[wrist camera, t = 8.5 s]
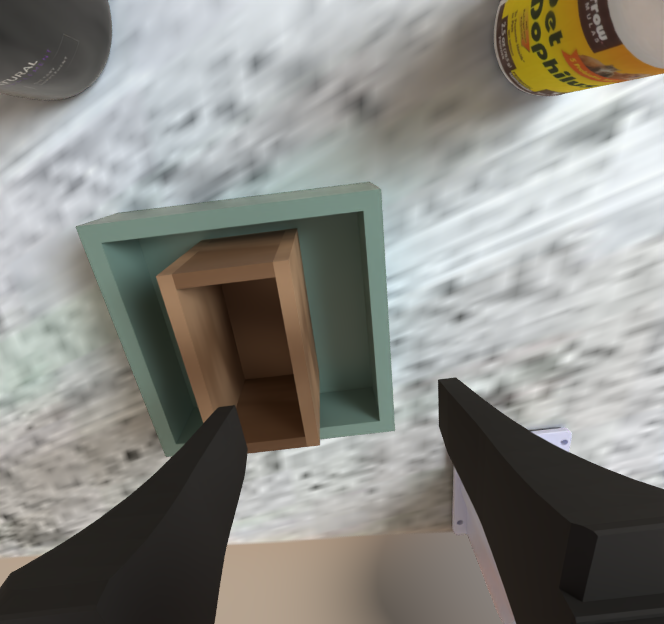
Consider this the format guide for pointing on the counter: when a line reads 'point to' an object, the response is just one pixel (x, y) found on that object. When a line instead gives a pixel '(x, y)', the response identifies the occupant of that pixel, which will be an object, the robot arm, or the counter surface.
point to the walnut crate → (248, 335)
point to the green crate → (321, 283)
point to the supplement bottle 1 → (52, 46)
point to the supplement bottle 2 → (578, 43)
